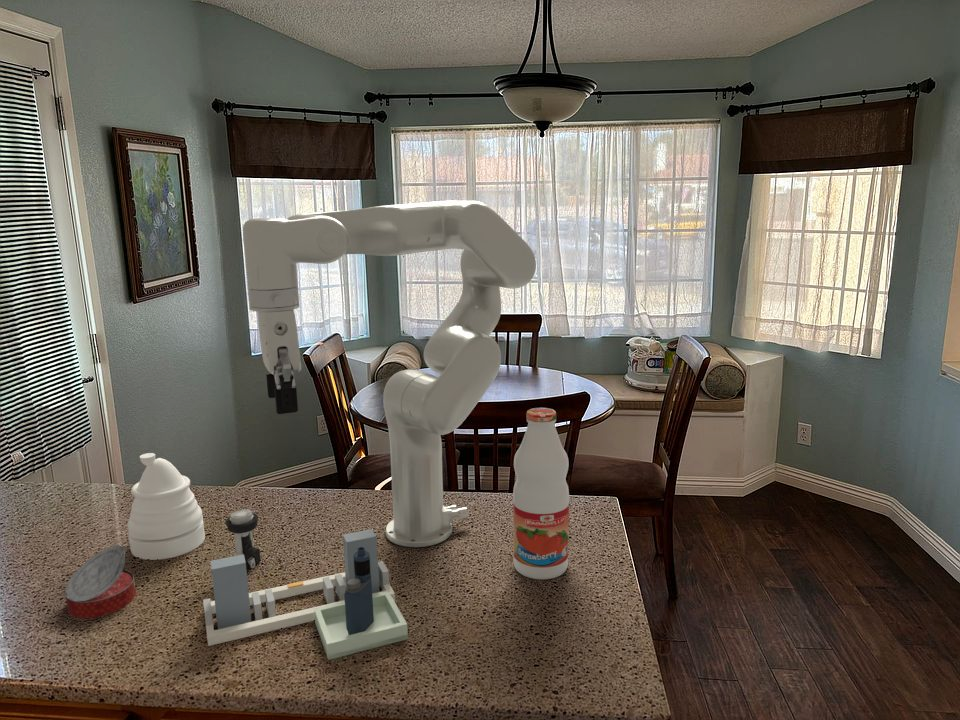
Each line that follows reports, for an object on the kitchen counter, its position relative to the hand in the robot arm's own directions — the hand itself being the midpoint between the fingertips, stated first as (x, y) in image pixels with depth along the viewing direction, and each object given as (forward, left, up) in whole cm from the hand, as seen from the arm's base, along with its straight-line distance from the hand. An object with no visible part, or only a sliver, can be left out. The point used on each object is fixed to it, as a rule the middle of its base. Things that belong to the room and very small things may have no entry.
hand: (282, 404), depth 116 cm
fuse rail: (+1, +10, -30) cm, 32 cm away
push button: (+8, -6, -31) cm, 32 cm away
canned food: (+30, -5, -31) cm, 43 cm away
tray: (-6, +21, -30) cm, 37 cm away
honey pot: (+20, -22, -31) cm, 43 cm away
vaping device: (-6, +21, -30) cm, 37 cm away
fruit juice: (-39, +15, -31) cm, 52 cm away
